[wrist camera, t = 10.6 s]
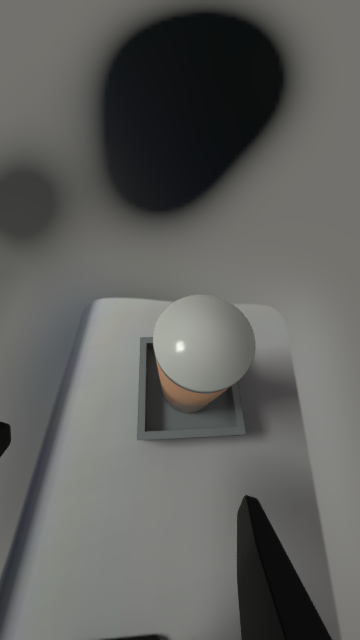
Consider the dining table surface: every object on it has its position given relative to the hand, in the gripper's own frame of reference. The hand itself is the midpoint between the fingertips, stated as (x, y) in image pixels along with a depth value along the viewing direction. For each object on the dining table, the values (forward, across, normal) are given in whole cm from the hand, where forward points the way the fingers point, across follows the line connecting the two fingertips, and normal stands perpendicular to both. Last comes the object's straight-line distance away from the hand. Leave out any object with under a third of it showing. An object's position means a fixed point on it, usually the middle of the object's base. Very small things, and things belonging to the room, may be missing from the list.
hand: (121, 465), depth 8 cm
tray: (+14, -2, +5) cm, 15 cm away
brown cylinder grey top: (+13, -2, +5) cm, 14 cm away
